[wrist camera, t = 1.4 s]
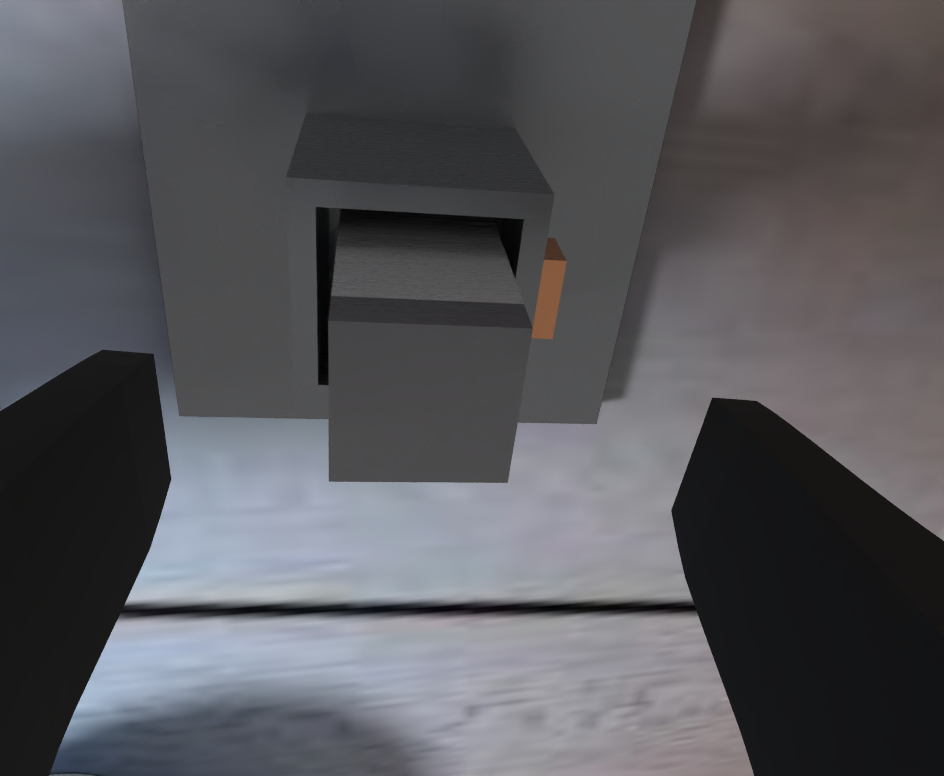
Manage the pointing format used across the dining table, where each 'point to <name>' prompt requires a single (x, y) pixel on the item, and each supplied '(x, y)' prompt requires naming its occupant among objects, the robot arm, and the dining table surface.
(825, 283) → the dining table surface
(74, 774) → the chinaware
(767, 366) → the dining table surface
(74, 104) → the dining table surface
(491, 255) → the column
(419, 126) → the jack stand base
